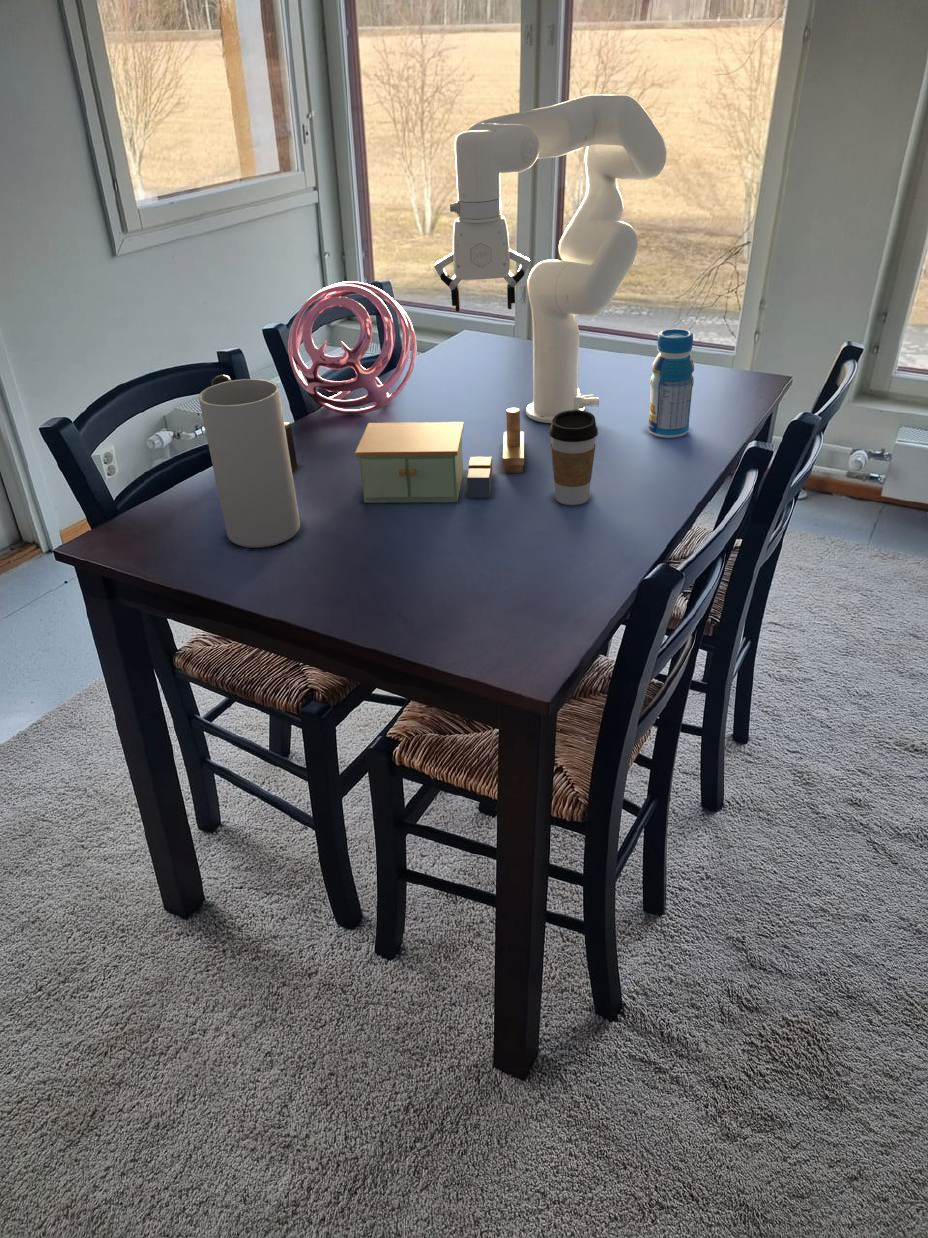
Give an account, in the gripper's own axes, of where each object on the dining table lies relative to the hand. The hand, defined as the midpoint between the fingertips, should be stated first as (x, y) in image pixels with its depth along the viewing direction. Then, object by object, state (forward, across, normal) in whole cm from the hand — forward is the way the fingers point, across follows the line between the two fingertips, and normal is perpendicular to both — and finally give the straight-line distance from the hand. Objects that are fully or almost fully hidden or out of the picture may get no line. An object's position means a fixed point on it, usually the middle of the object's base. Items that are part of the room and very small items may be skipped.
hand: (483, 308), depth 174 cm
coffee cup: (+28, +15, -25) cm, 40 cm away
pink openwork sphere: (+28, -31, +24) cm, 48 cm away
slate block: (+25, -3, -22) cm, 33 cm away
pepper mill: (+27, -46, -10) cm, 55 cm away
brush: (+27, +5, -7) cm, 29 cm away
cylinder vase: (+27, -38, -36) cm, 59 cm away
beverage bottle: (+28, +36, +5) cm, 46 cm away
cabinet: (+27, -14, -19) cm, 36 cm away
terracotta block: (+25, -3, -16) cm, 30 cm away
